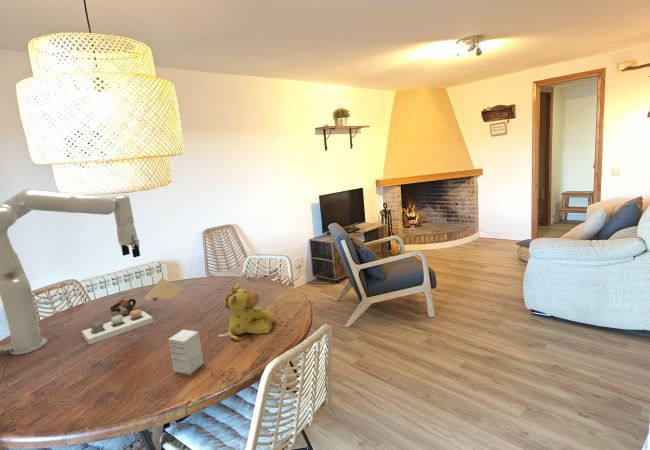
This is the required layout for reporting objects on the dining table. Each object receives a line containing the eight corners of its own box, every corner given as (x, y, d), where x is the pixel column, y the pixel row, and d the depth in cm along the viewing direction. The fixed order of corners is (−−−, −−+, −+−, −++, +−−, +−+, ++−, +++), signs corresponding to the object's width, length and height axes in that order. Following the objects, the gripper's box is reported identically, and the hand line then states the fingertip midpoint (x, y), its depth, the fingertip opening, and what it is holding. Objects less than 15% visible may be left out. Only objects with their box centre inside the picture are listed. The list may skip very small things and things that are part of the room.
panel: (89, 344, 155) (88, 339, 154) (82, 336, 163) (81, 330, 163) (153, 322, 172) (152, 317, 172) (144, 315, 181) (143, 310, 180)
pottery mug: (122, 319, 179) (111, 306, 178) (116, 324, 185) (105, 311, 184) (143, 304, 188) (132, 292, 187) (136, 309, 194) (126, 297, 193)
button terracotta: (133, 321, 170) (131, 314, 169) (130, 319, 173) (128, 311, 172) (143, 318, 173) (142, 310, 172) (140, 315, 176) (139, 308, 175)
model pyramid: (140, 301, 202) (137, 284, 200) (158, 289, 219) (156, 273, 217) (169, 300, 200) (166, 283, 198) (185, 289, 216) (182, 272, 214)
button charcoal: (93, 335, 159) (91, 327, 158) (90, 332, 162) (89, 324, 161) (105, 331, 162) (103, 323, 161) (102, 328, 165) (101, 320, 164)
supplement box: (188, 360, 136) (183, 328, 134) (204, 363, 133) (199, 331, 131) (173, 371, 130) (167, 338, 127) (189, 375, 127) (184, 341, 124)
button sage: (114, 328, 164) (112, 320, 163) (111, 325, 167) (109, 317, 167) (125, 324, 167) (123, 316, 167) (122, 321, 171) (120, 314, 170)
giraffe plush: (282, 328, 156) (277, 285, 153) (228, 347, 144) (221, 301, 140) (262, 313, 173) (257, 274, 170) (212, 329, 161) (206, 287, 157)
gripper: (108, 222, 179) (115, 256, 182) (126, 223, 169) (133, 259, 172) (123, 219, 185) (130, 252, 188) (142, 220, 175) (148, 255, 178)
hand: (131, 255), depth 180 cm, fingers open, 9 cm apart
